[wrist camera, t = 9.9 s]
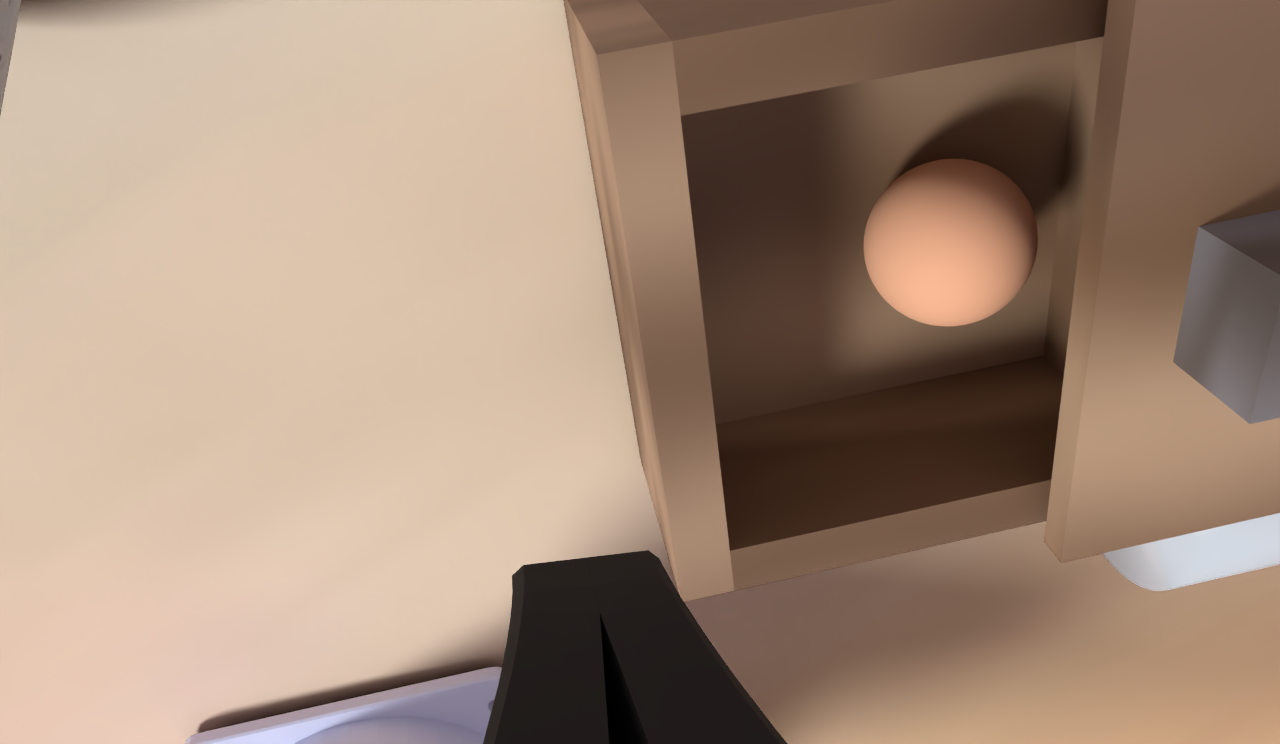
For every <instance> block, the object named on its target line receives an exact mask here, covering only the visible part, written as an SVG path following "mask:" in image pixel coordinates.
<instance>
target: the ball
mask: <svg viewBox="0 0 1280 744" xmlns="http://www.w3.org/2000/svg"><path fill="white" fill-rule="evenodd" d="M1037 249H1038V231H1037V223H1036V220H1035V216H1034V213H1033V210H1032V208H1031V206H1030V203H1029V201H1028V200H1027V198H1026V197H1025V195H1024V194H1023V192H1022V191H1021V189H1020V188H1019V187H1018V186H1017V185H1016V184H1015V183H1014V182H1013V181H1012V180H1011V179H1010V178H1009V177H1007V176H1006V175H1004V174H1003V173H1002V172H1000V171H998V170H997V169H995V168H993V167H991V166H989V165H986V164H983V163H980V162H976V161H973V160H966V159H942V160H936V161H932V162H928V163H925V164H922V165H920V166H917V167H915V168H913V169H911V170H909V171H907V172H906V173H904V174H903V175H901V176H900V177H898V178H897V179H896V180H895V181H893V182H892V183H891V184H890V185H889V186H888V187H887V188H886V189H885V190H884V192H883V193H882V194H881V196H880V197H879V198H878V200H877V201H876V203H875V205H874V206H873V208H872V211H871V213H870V215H869V218H868V221H867V224H866V228H865V234H864V258H865V263H866V267H867V270H868V273H869V276H870V278H871V281H872V283H873V284H874V286H875V287H876V289H877V291H878V292H879V294H880V295H881V296H882V297H883V298H884V300H885V301H886V302H887V303H889V304H890V305H891V306H892V307H893V308H894V309H896V310H897V311H898V312H900V313H902V314H903V315H905V316H907V317H909V318H911V319H913V320H916V321H918V322H921V323H925V324H929V325H935V326H960V325H966V324H970V323H974V322H977V321H980V320H982V319H985V318H987V317H989V316H991V315H993V314H994V313H996V312H998V311H999V310H1001V309H1002V308H1003V307H1004V306H1006V305H1007V304H1008V303H1009V302H1010V301H1011V300H1012V299H1013V298H1014V297H1015V296H1016V295H1017V294H1018V293H1019V292H1020V290H1021V289H1022V288H1023V286H1024V285H1025V283H1026V281H1027V280H1028V278H1029V276H1030V274H1031V271H1032V269H1033V266H1034V263H1035V259H1036V255H1037Z"/></svg>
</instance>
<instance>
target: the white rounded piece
mask: <svg viewBox="0 0 1280 744" xmlns="http://www.w3.org/2000/svg"><path fill="white" fill-rule="evenodd" d="M1102 554H1103V555H1104V556H1105V558H1106V559H1107V560H1108V561H1109V562H1110V563H1111V565H1112V566H1113V567H1114V568H1115V569H1116V570H1117V571H1118V572H1119V573H1121V574H1122V575H1123V576H1124V577H1126V578H1127V579H1128V580H1129V581H1131V582H1133V583H1134V584H1136V585H1138V586H1140V587H1142V588H1145V589H1148V590H1153V591H1166V590H1171V589H1175V588H1179V587H1184V586H1188V585H1192V584H1197V583H1201V582H1206V581H1210V580H1214V579H1219V578H1223V577H1228V576H1232V575H1236V574H1241V573H1245V572H1249V571H1254V570H1258V569H1263V568H1267V567H1271V566H1276V565H1280V513H1277V514H1273V515H1269V516H1264V517H1260V518H1255V519H1251V520H1247V521H1242V522H1238V523H1233V524H1229V525H1225V526H1220V527H1216V528H1212V529H1207V530H1203V531H1198V532H1194V533H1190V534H1185V535H1181V536H1176V537H1172V538H1168V539H1163V540H1159V541H1155V542H1150V543H1146V544H1141V545H1137V546H1133V547H1128V548H1124V549H1119V550H1115V551H1111V552H1106V553H1102Z"/></svg>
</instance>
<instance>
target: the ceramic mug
mask: <svg viewBox="0 0 1280 744" xmlns="http://www.w3.org/2000/svg"><path fill="white" fill-rule="evenodd" d="M20 5H21V0H0V114H1V108H2V103H3V97H4V92H5V86H6V81H7V76H8V70H9V65H10V60H11V54H12V49H13V44H14V38H15V32H16V27H17V21H18V15H19V10H20Z"/></svg>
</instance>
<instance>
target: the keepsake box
mask: <svg viewBox="0 0 1280 744" xmlns="http://www.w3.org/2000/svg"><path fill="white" fill-rule="evenodd" d="M564 6H565V12H566V18H567V23H568V29H569V35H570V41H571V47H572V53H573V59H574V65H575V71H576V77H577V83H578V89H579V95H580V101H581V107H582V113H583V119H584V125H585V131H586V137H587V143H588V149H589V154H590V160H591V166H592V172H593V178H594V184H595V190H596V196H597V202H598V208H599V214H600V220H601V226H602V232H603V238H604V244H605V250H606V256H607V262H608V268H609V274H610V279H611V285H612V291H613V297H614V303H615V309H616V315H617V321H618V327H619V333H620V339H621V345H622V351H623V357H624V363H625V369H626V375H627V381H628V387H629V393H630V399H631V405H632V410H633V416H634V422H635V428H636V434H637V440H638V446H639V452H640V458H641V463H642V466H643V470H644V473H645V477H646V480H647V484H648V487H649V491H650V494H651V498H652V501H653V505H654V508H655V512H656V515H657V519H658V522H659V526H660V529H661V533H662V536H663V540H664V543H665V547H666V550H667V554H668V557H669V561H670V564H671V567H672V571H673V574H674V578H675V581H676V585H677V588H678V592H679V595H680V596H681V598H682V600H683V601H684V602H687V601H691V600H696V599H700V598H704V597H709V596H713V595H718V594H722V593H727V592H731V591H736V590H740V589H745V588H749V587H753V586H758V585H762V584H767V583H771V582H776V581H780V580H785V579H789V578H794V577H798V576H802V575H807V574H811V573H816V572H820V571H825V570H829V569H834V568H838V567H843V566H847V565H851V564H856V563H860V562H865V561H869V560H874V559H878V558H883V557H887V556H891V555H896V554H900V553H905V552H909V551H914V550H918V549H923V548H927V547H932V546H936V545H940V544H945V543H949V542H954V541H958V540H963V539H967V538H972V537H976V536H981V535H985V534H989V533H994V532H998V531H1003V530H1007V529H1012V528H1016V527H1021V526H1025V525H1029V524H1034V523H1038V522H1043V521H1047V513H1048V505H1049V496H1050V488H1051V479H1052V471H1053V463H1054V454H1055V446H1056V437H1057V429H1058V420H1059V412H1060V403H1061V395H1062V387H1063V378H1064V370H1065V361H1066V353H1067V344H1068V336H1069V328H1070V319H1071V311H1072V302H1073V294H1074V285H1075V277H1076V269H1077V260H1078V252H1079V243H1080V235H1081V226H1082V218H1083V210H1084V201H1085V193H1086V184H1087V176H1088V167H1089V159H1090V151H1091V142H1092V134H1093V125H1094V117H1095V108H1096V100H1097V92H1098V83H1099V75H1100V66H1101V58H1102V49H1103V41H1104V33H1105V24H1106V16H1107V7H1108V0H564ZM942 159H966V160H973V161H976V162H980V163H983V164H986V165H989V166H991V167H993V168H995V169H997V170H998V171H1000V172H1002V173H1003V174H1004V175H1006V176H1007V177H1009V178H1010V179H1011V180H1012V181H1013V182H1014V183H1015V184H1016V185H1017V186H1018V187H1019V188H1020V189H1021V191H1022V192H1023V194H1024V195H1025V197H1026V198H1027V200H1028V201H1029V203H1030V206H1031V208H1032V210H1033V213H1034V216H1035V220H1036V223H1037V231H1038V249H1037V255H1036V259H1035V263H1034V266H1033V269H1032V271H1031V274H1030V276H1029V278H1028V280H1027V281H1026V283H1025V285H1024V286H1023V288H1022V289H1021V290H1020V292H1019V293H1018V294H1017V295H1016V296H1015V297H1014V298H1013V299H1012V300H1011V301H1010V302H1009V303H1008V304H1007V305H1006V306H1004V307H1003V308H1002V309H1001V310H999V311H998V312H996V313H994V314H993V315H991V316H989V317H987V318H985V319H982V320H980V321H977V322H974V323H970V324H966V325H960V326H935V325H929V324H925V323H921V322H918V321H916V320H913V319H911V318H909V317H907V316H905V315H903V314H902V313H900V312H898V311H897V310H896V309H894V308H893V307H892V306H891V305H890V304H889V303H887V302H886V301H885V300H884V298H883V297H882V296H881V295H880V294H879V292H878V291H877V289H876V287H875V286H874V284H873V283H872V281H871V278H870V276H869V273H868V270H867V267H866V263H865V258H864V234H865V228H866V224H867V221H868V218H869V215H870V213H871V211H872V208H873V206H874V205H875V203H876V201H877V200H878V198H879V197H880V196H881V194H882V193H883V192H884V190H885V189H886V188H887V187H888V186H889V185H890V184H891V183H892V182H893V181H895V180H896V179H897V178H898V177H900V176H901V175H903V174H904V173H906V172H907V171H909V170H911V169H913V168H915V167H917V166H920V165H922V164H925V163H928V162H932V161H936V160H942Z"/></svg>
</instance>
